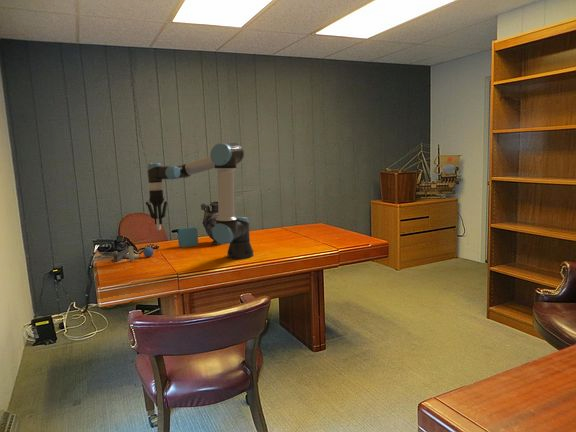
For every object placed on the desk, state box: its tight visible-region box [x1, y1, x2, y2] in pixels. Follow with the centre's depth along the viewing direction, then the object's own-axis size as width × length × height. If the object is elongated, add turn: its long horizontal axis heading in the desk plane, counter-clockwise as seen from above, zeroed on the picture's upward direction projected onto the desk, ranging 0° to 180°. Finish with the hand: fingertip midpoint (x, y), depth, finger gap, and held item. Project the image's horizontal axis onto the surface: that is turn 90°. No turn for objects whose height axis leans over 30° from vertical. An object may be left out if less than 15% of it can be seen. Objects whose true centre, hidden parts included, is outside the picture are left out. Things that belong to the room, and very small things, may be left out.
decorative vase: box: [200, 201, 221, 245], centre depth 286 cm, size 21×19×28 cm
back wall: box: [113, 247, 129, 263], centre depth 254 cm, size 2×20×4 cm, turn 177°
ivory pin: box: [124, 253, 141, 259], centre depth 252 cm, size 2×2×8 cm
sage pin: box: [128, 245, 135, 263], centre depth 244 cm, size 2×2×8 cm
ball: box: [142, 246, 155, 258], centre depth 253 cm, size 6×6×6 cm
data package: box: [177, 226, 199, 248], centre depth 281 cm, size 12×4×12 cm, turn 119°
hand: (159, 229), depth 250 cm, fingers closed
